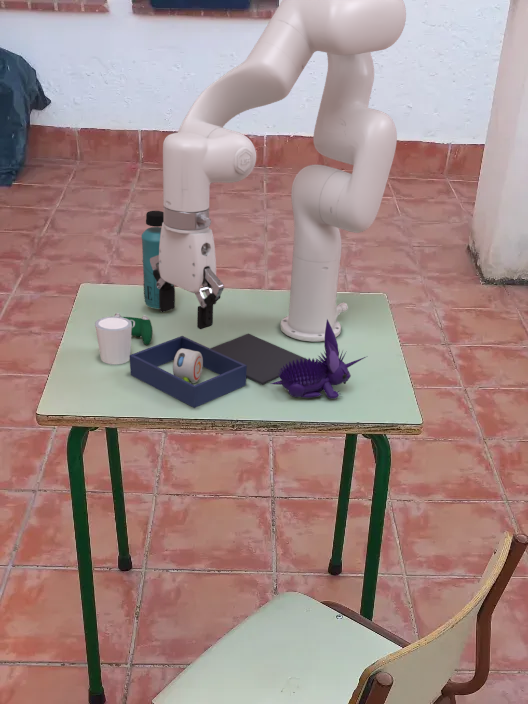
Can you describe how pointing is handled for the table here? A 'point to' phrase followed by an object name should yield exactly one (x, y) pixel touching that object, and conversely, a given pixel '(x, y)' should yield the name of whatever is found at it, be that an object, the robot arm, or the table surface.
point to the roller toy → (188, 365)
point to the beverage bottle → (150, 250)
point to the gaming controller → (140, 328)
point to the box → (193, 395)
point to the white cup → (114, 339)
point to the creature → (317, 372)
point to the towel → (258, 357)
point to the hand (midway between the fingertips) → (185, 318)
